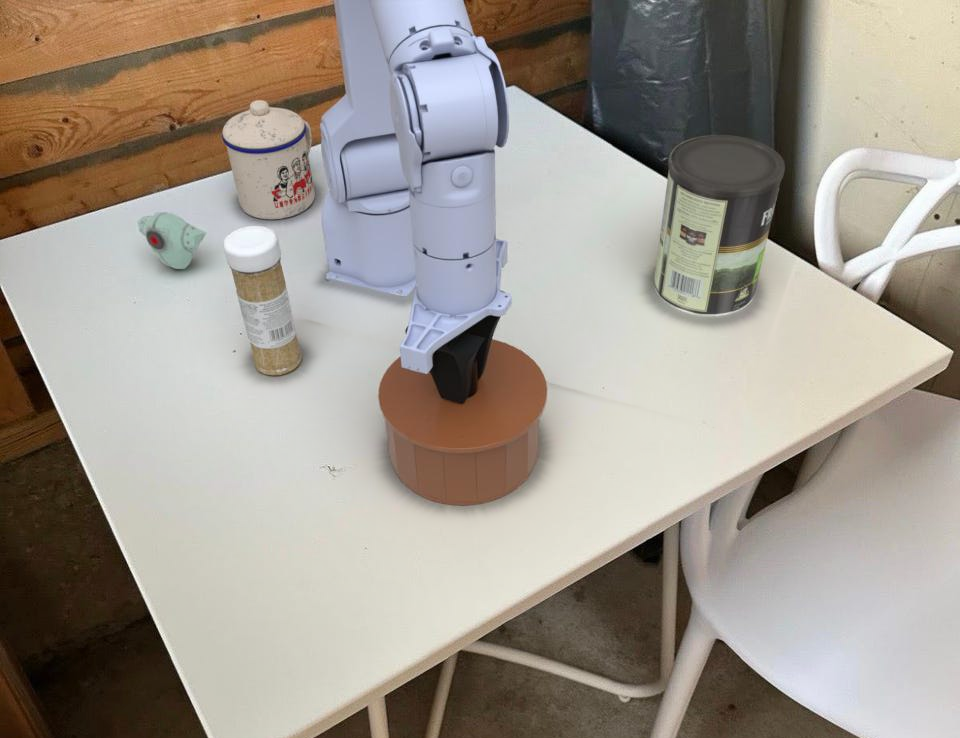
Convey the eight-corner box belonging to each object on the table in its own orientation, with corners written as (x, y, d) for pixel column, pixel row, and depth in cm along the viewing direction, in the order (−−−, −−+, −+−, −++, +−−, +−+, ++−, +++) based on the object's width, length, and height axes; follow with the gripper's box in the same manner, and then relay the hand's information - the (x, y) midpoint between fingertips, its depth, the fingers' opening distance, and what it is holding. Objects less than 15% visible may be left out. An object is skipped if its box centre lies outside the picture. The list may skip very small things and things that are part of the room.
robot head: (221, 268, 98) (206, 211, 93) (197, 289, 95) (180, 232, 91) (160, 251, 100) (142, 195, 96) (135, 271, 98) (116, 215, 93)
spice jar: (293, 341, 89) (268, 218, 79) (309, 368, 86) (284, 244, 77) (247, 355, 88) (215, 231, 78) (261, 383, 85) (230, 259, 75)
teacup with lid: (286, 229, 103) (266, 130, 94) (221, 210, 106) (197, 112, 98) (346, 180, 110) (333, 83, 102) (284, 163, 113) (266, 68, 105)
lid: (349, 430, 72) (342, 389, 69) (424, 331, 80) (421, 290, 77) (508, 479, 68) (509, 437, 65) (570, 369, 77) (572, 327, 73)
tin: (365, 479, 76) (355, 422, 72) (430, 387, 84) (425, 330, 80) (503, 523, 73) (503, 466, 68) (558, 422, 81) (561, 365, 76)
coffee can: (754, 265, 96) (784, 137, 86) (754, 326, 89) (787, 194, 79) (655, 256, 98) (672, 129, 88) (647, 314, 91) (665, 184, 81)
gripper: (464, 309, 58) (470, 460, 68) (546, 196, 67) (541, 344, 77) (364, 285, 60) (384, 435, 70) (457, 178, 69) (463, 324, 79)
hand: (461, 386), depth 73 cm, fingers closed on lid, 2 cm apart
